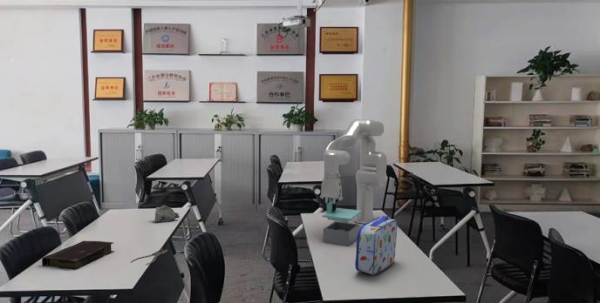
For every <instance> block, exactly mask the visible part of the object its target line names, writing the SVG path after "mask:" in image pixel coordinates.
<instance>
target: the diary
mask: <svg viewBox="0 0 600 303" xmlns="http://www.w3.org/2000/svg"><path fill="white" fill-rule="evenodd" d="M113 244H115V242H112V241H100V240H82V241H80V242H77V243H76V244H72V245H70V246H67V247H65V248H62V249H60V250H58V251H56V252H54V253H51V254H48V255H46V256H43V257H42V258H41V264H42V267H45V266H47V267H54V268H58V269H62V270H63V269H64V270H71V271H74V270H79V269H81V268H83V267H86V266H87V265H90V264H92V263H93V262H95V261H97V260H100V259H102V258H103V257H105V256H108V255H110V254H113V253H114V252H115V250H114V251H113V250H112V245H113Z"/></svg>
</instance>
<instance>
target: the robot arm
mask: <svg viewBox="0 0 600 303" xmlns="http://www.w3.org/2000/svg"><path fill="white" fill-rule="evenodd" d="M384 132H385V126H384V124H383V122H382V121H379V120H374V119H373V120H372V119H362V118H360V119H358V118H357V119H354V120H352V121H350V124H349V125H348V127H347V128H346V129H345V131H344V132H343V135H341V136H339V137H337V138H336V139H334V140H332V141H331V142H329V144H328V145H327V146H326V149H325V150H324V152H323V156H322V158H323V178H322V181H321V192H320V193H321V194H320V195H319V198H321V199H322V200H323V201H324V203H325V209H326V210H327V203H328V202H330V199H332V201H333V204H332V211H333V212H334V211H335V210H336V208H337V203H338V202H340V201H342V200H344V197H343V196H342V195H343V191H342V181H341V178H342V174H340V172H339V171H340V170H339V169H340V168H339V167H340V166H344V165H347V164H348V163H349V162H350V160H351V156H350V153H349V152H348V151H346V150H344V149H349V148H351V147H354V146H356V144H357V143H358V141H359V140H360V154H359V164H360V165H361V166H362V167H364V168H361V169H358V170H357V171H356V173H355V182H356V210H359V211H362V213H360V214H359V215H358V216H356V217H355V218H353V222H355V224H360V225H361V224H362V225H364V224H366V223H368V222H370V221H372V220H375V219H376V218H373V217H374V216H373V215H374V214H373V210H374V191H373V189H372V187H380V188H381V187H382V186H384V185H385V182H386V176H387V162H388V159H387V155H386V153H385V152H382V151H376V140H375V139H374V137H381V136H382V135H383V134H384ZM365 167H366V168H365ZM368 168H369V169H368ZM370 168H376V169H370Z"/></svg>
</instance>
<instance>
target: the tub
mask: <svg viewBox="0 0 600 303" xmlns="http://www.w3.org/2000/svg"><path fill="white" fill-rule="evenodd" d="M360 225H361V224H360V223H351V222H350V223H344V222H336V221H335V222H334V221H333V222H331V223H330V224H329V225H327V226H326V227H324V228H323V230H322V233H323V234H322V242H323V243H327V244H332V245H333V244H334V245H340V246H346V247H350V246H351V245H352V244H354V242H356V240H357V233H358V230H359V228H360V227H361V226H360Z"/></svg>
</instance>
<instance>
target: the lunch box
mask: <svg viewBox="0 0 600 303" xmlns="http://www.w3.org/2000/svg"><path fill="white" fill-rule="evenodd" d="M374 219H375V220H372V221H370V222H368V223H366V224H362V225H361V226H360V228H359V230H358V233H357V240H356V241H355V242H356V246H355V247H356V251H355V262H354V266H355V267H354V268H355V271H357V272H363V273H364V274H369V275H372V276H375V275H376V274H378V273H380V272H383V271H385V270H387V269H388V267H390V266H391V265H392V264H393V263H394V261H395V257H396V247H397V245H396V244H397V234H398V232H397V231H398V223H397V220H396V219H393V218H389V215H382V216H379V217H377V218H374Z"/></svg>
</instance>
